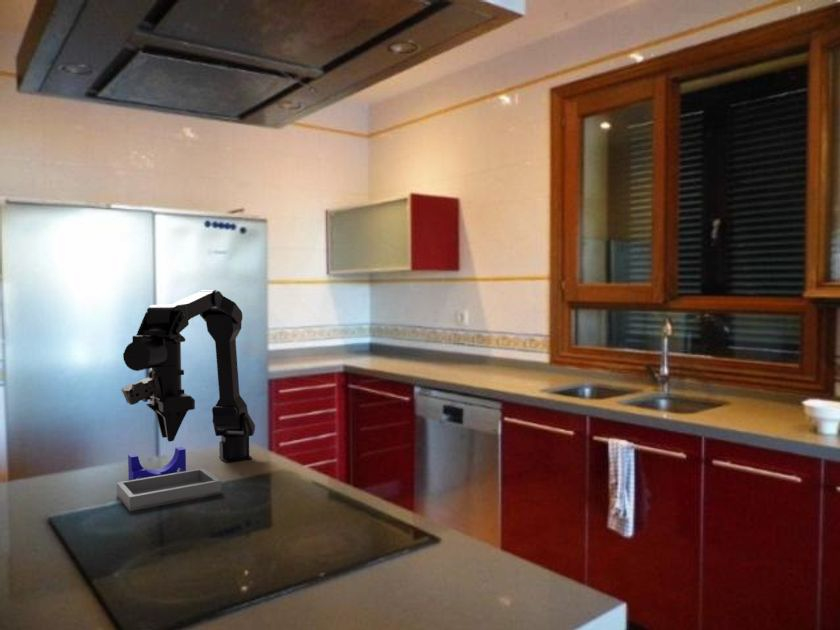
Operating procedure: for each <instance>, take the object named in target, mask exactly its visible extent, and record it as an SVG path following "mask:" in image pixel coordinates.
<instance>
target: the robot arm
mask: <svg viewBox="0 0 840 630" xmlns="http://www.w3.org/2000/svg"><path fill="white" fill-rule="evenodd" d="M197 316H200V317H201V318H202V320H203V321H204V322H206V323H205V325H206V330H207V333H208V334H209V335H210V336H211V338H212V339H213V341H214V343H215V356H216V369H217V371H216V372H217V383H218V396H219V397H218V398H219V399H218V400H217V402H216V404H215V405H214V406H212V409H211V413H212V425H213V428H214V434H215V437H218V436H219V437H220V438H221V440H220V441H219V443H218V444H219V445H218V446H219V448H218V449H219V456H218V458H219V459H220V460H222V461H224V462H226V463H227V464H229V463H235V462H241V461H247V460H252V459H253V456H251V455H250V437H252V436H254V434H255V430H256V424H255V422H254V421H253V419H252V417H251V416H250V414H249V410H248V405H247V403H246V402H245V400H244V399H243V397H242V396H241V395H240V384H239V383H240V382H239V371H238V369H239V368H238V356H237V354H238V353H237V344H236V343H237V341H236V340H237V337H238V335H239V333H240V332H241V330H242V322H243V311H242V310H241V308H240V307H239V306H238V304H237V303H236V302H235V301H233V300H232V299H229V298H227V297H226V296H224V295H223V294H222V292H220V291H219V290H217V289H200V290H198V291H197V292H196V293H194V294H191V295H189V296H188V297H184V298H183V299H182V298H181V299H180V300H178V301H176V302H174V303H173V302H172V303H159V304H151V305H150V306H149V307H147V309H146V311H145V314H144V316H143V318H142V321H141V323H140V325H139V328H138V330H137V333H136V335H133V336H132V342H130V343H128V344H127V346H126V348H125V349H124V352H123V353H122V354H123V355H122V357H123V361H124V364H125V365H126V367H127V368H128V369H130V370H132V371H134V372H139V371H145V370H148V369H149V371H148V372H147V377H145V378H142V379H140V380H138V381H136V382H135V381H134V382H133V383H131V384H128V385H126V386H123V387H121V389H120V390H121V393H122V394H123V396H124V399H125V401H126V403H127V404H129V405H130V406H132V405H136V404H138V403H140V401H142V402H144V403H146V402H148V400H150V401H149V402H150V403H146V407H148V408H149V409H151V411H153V413H154V414H155V416H156V421H157V423H158V428H159V430H160V431H159V432H160V434H161V437H162V438H163V439H164V438H167V442H174V441H175V439H176V436H177V434H178V432H179V430H180V427H181V426H182V423H183V421H184V419H185V417H186V415H187V413H188V412H189V411H190V410H191V411H193V410H195V409H196V400H195V398H193V397H192V396H191V395H189V394H187V393H185V389H183V388H182V376H184V375H185V370H184V369H182V354H181V353H182V347H181V345H182V344H181V343H184V342H186V338H185V336H183V335H182V334H181V332H182V331H183V330H185V329H186V328H187V327H189V321H190V320H191V319H193V318H195V317H197Z"/></svg>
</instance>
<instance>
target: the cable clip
mask: <svg viewBox="0 0 840 630" xmlns="http://www.w3.org/2000/svg"><path fill="white" fill-rule="evenodd" d="M186 450H187V449H186V448H184V447H183V446H179V447H178V446H177V447H175V448H174V454H173V456H172V459H170V461H169V462H168V463H167V464H166V465H164V466H162V467H160V468H158V469H148V468H145V467H143V466H142V465H141V462H140V460H139V455H138V454H136V453H129V454H127V464H128V481H129V480H135V479H141V478H147V477H153V476H159V475H165V474H171V473H177V472H183V471H187V453H186Z"/></svg>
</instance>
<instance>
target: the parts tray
mask: <svg viewBox="0 0 840 630" xmlns="http://www.w3.org/2000/svg"><path fill="white" fill-rule="evenodd" d="M221 494H222V480H221V479H219V478H217V477H216V476H215V475H213V474H212V473H211V472H209V471H208V470H206V469H205V468H203V467H202V468H197V469H196V468H195V469H189V470H186V471H183V472H179V471H177V473H171V474H165V475H159V476H153V477H147V478H141V479H135V480H129V479H128V480H125V481H117V482H116V496H117V497H118V499H119V500H120V501H121V503H123V505H124V506H125V507H126V509H127V510H128V511H129V512H133V511H137V510H143V509H148V508H149V509H150V508H154V507H159V506H164V505H169V504H175V503H180V502H184V501H190V500H196V499H201V498H202V499H203V498H207V497H212V496H217V495H221Z"/></svg>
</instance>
